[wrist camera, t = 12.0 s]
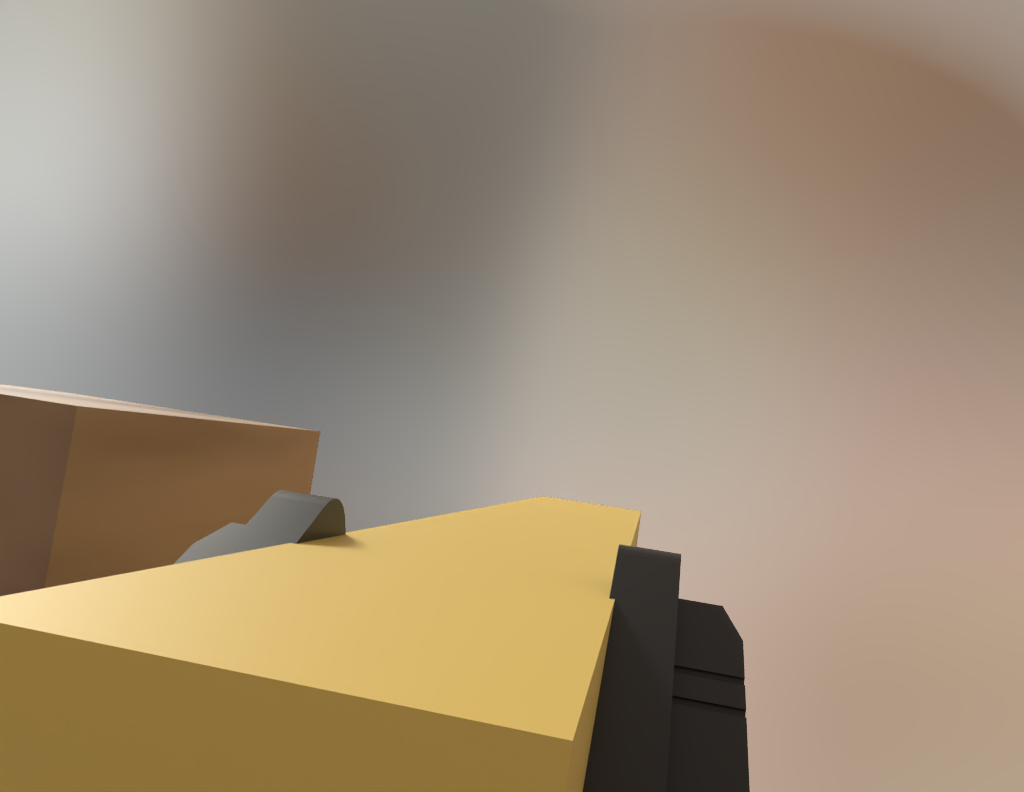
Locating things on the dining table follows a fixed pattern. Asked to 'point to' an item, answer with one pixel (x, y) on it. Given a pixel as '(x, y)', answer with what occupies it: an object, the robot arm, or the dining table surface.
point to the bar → (324, 662)
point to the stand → (127, 483)
